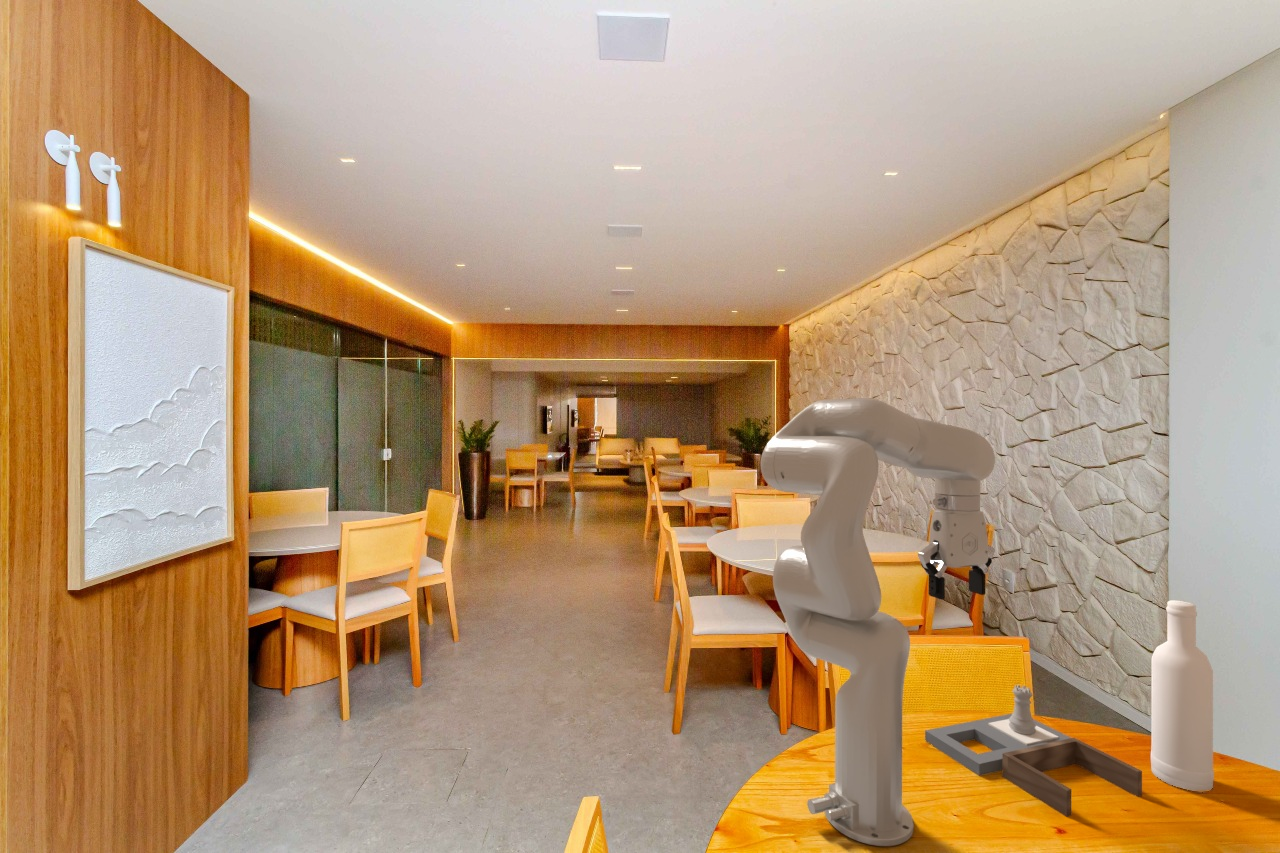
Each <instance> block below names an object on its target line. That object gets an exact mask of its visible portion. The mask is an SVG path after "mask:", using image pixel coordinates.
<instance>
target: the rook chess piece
mask: <svg viewBox="0 0 1280 853" xmlns="http://www.w3.org/2000/svg"><path fill="white" fill-rule="evenodd" d="M1012 693H1013V694H1014V698H1013V701H1014V707H1013V712H1012V713H1011V714H1012V716H1011V717H1010V718H1009V721H1010V723H1009V726H1010V728H1011V729H1012V730H1013V731H1015V732H1017V733H1020V734H1024V735H1033V734H1034V733H1035V732H1036V729H1035V727H1036V724H1035V722H1034V721H1033V719H1034V718H1033V717H1032V712H1031V704H1032V702H1031V698H1032V697H1033V693H1032V692H1031V688H1030V687H1029V686H1028V687H1026V685H1022V687H1021V684H1017V685H1014V688H1013V689H1012Z"/></svg>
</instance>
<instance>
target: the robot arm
mask: <svg viewBox="0 0 1280 853" xmlns="http://www.w3.org/2000/svg"><path fill="white" fill-rule="evenodd" d="M995 455H996V454H995V451H994V448H993V447H992V445H991V444H990V442H989V441H988V440H987V439H986V438H985V437H984V436H982V435H981V434H980V433H977V432H975V431H973V430H970V429H967V428H963V427H961V426H960V427H958V426H956V425H949V424H945V423H941V422H937V421H933V420H928V419H922V418H917V417H914V416H912V415H909V414H908V413H905V411H902V410H900V409H898V408H896V407H894V406H892V405H890V404H889V403H887V402H884V401H882V400H879V399H876V398H871V397H856V398H854V397H853V398H852V397H851V398H832V399H831V398H829V399H825V398H824V399H820V400H817V401H814V402H813V403H811V404H810V405H808V406H806V407H805V408H804V409H802V410H801V411H800V412H799V413H797V414H796V415H795V416H793V418H792V419H791V420H790V421H788V423H786V424H785V425H784V426H783V427H782V428H781V429H779V430H778V431H777V432H776V433H775V434H774V435H773V436H772V437H771V438H770V439H769V440H768V442H767V443H766V445H765V447H764V449H763V451H762V454H761V458H760V472H761V474H762V477H763V479H764V480H765V482H766V484H768V486H770V487H771V488H773V489H774V490H777V491H779V492H783V493H794V494H802V495H803V494H804V495H815V496H820V497H819V500H818V501H817V503H816V505H815V507H814V508H813V509H812V511H811V512H810V513H809V515H808V516H807V517H806V520H805V521H804V523H803V525H802V527H801V531H800V542H801V545H794V546H790V547H788V548H786V549H783V551H782V552H781V553H780V554H779V555H778V557H777V558H776V561H775V564H774V566H773V567H774V568H773V572H772V586H773V590H774V596H775V599H776V601H777V603H778V606H779V608H780V610H781V612H782V615H783V617H784V620H785V622H786V624H787V627H788V630H789V631H790V633H791V636H792V638H793V640H794V642H795V643H796V646H797V647H798V648H799V649H800V650H801V651H802V652H803V653H804V654H806V655H808V656H810V657H812V658H816V659H818V660H821V661H824V662H827V663H830V664H833V665H836V666H839V667H841V668H844V669H845V670H848V671H849V673H850V676H849V678H848V679H847V680H846V681H845V682H843V684H842V685H841V686H840V687H839V688H838V690H837V693H836V695H835V703H834V705H835V708H834V709H835V710H834V711H835V714H834V716H835V717H834V718H835V720H834V721H835V723H834V727H835V728H834V738H835V739H834V742H835V744H834V751H835V752H834V756H835V757H834V782H833V783H829V784H828V792H826V793H825V794H823V796H821V797H814V798H811V799H807V801H806V802H807V803H806V804H807V809H808V812H809V813H810V814H811V815H816V814H817V815H818V814H820V813H825V817H826V819H827V821H828V822H829V823H830V824H831V825H832V826H833V827H834V828H835V829H836V830H837V831H838V832H840V834H843V835H844V836H846V837H848V838H849V839H852V840H854V841H857V842H859V843H862V844H865V845H869V846H876V847H893V846H898V845H901V844H903V843H906V842H907V841H908V840H909V839H911V838H912V836H913V833H914V819H913V816H912V814H911V813H910V811H909V810H908V809H907V807H906V806H904V805H903V697H904V686H905V685H904V684H905V676H906V673H907V672H906V671H907V667H908V662H909V657H910V651H911V650H910V649H911V639H910V634H909V632H908V629H907V628H906V627H905V625H904V624H903V623H902V622H901V621H900V620H898V619H897V618H896V617H894V616H892V615H891V614H888V613H886V612H884V611H879V610H880V607H881V605H882V591H881V587H880V581H879V579H878V575H877V572H876V570H875V567H874V564H873V561H872V557H871V554H870V550H869V549H868V547H867V543H866V540H865V536H864V531H863V530H864V527H863V526H864V520H865V517H866V516H865V515H866V514H867V510H868V507H869V504H870V502H871V499H872V495H873V492H874V489H875V486H876V484H877V479H878V475H879V461H880V462H883V463H886V464H888V465H890V466H893V467H897V468H906V470H907V472H909V473H910V474H912V475H913V476H914V477H915V476H916V477H918V478H923V479H934V499H932V504H933V506H934V510H933V511H932V515H931V520H930V521H931V522H930V527H929V537H928V538H929V539H928V541H929V542H928V545H927V546H925V547H924V548H923V549H921V550H920V551H918V553H917V557H918V559H919V562H920V565H921V568H922V569H924V571H925V574H926V575H928V596H930V597H932V598H935V599H938V600H945V597H946V595H945V592H946V581H945V580H946V579H945V577H943V575H944V574H945V571H946V570H947V568H948V567H949V568H966V567H970V568H971V569H969V570H968V591H969V592H971V593H974V594H977V595H981V596H985V595H986V574H988V572H989V567H990V565H991V564H992V562H993V557H994V554H995V551H996V548H995V547H993V546H992V545H989V539H988V530H987V523H986V518H985V514H984V512H983V511H982V510H981V481H984V480H985V479H987V478H988V477H989V476H990V475H991V473H993V470H994V467H995V465H996V464H995V463H996V456H995ZM937 566H938V567H937Z"/></svg>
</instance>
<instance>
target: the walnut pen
mask: <svg viewBox="0 0 1280 853" xmlns="http://www.w3.org/2000/svg"><path fill="white" fill-rule="evenodd" d="M1072 765H1077V766H1079V767H1080V768H1082V769H1084V770H1086V771H1088V772H1091V773H1092V774H1094V775H1096V776H1098V777H1099V778H1102V779H1104V780H1106V781H1107V782H1108V783H1111V784H1113V785H1115V786H1117V787H1118V788H1120V789H1121V790H1124V791H1126V792H1127V793H1130V794H1132V795H1133V796H1135V795H1136V796H1135V797H1137V796H1138V798H1139V797H1141V795H1142V796H1143V770H1141V769H1139V768H1137V767H1135V766H1133V765H1131V764H1128V763H1127V762H1125V761H1122V760H1121V759H1118V758H1117V757H1114V756H1113V755H1110V754H1109V753H1106V752H1104V751H1102V750H1100V749H1098V748H1096V747H1094V746H1092V745H1091V744H1088V743H1085V742H1084V741H1081V740H1079V739H1077V738H1075V737H1071V738H1070V739H1065V740H1061V741H1056V742H1052V743H1047V744H1043V745H1038V746H1034V747H1029V748H1025V749H1020V750H1016V751H1011V752H1007V753H1003V754H1002V770H1001V771H1002V778H1003V779H1005V780H1006V781H1009V782H1010V783H1012V784H1013V785H1015V786H1016V787H1019V789H1022V790H1023V791H1025V792H1026V793H1028V794H1029V795H1031V796H1033V798H1036V799H1038V800H1039V801H1041V802H1042V803H1044V804H1045V805H1047V806H1048V807H1050V808H1053V810H1056V811H1057V812H1059V813H1060V814H1061V815H1063V816H1064V817H1071V816H1072V788H1070V787H1069V786H1067V785H1065V784H1063V783H1061V782H1060V781H1057V779H1054V778H1053V777H1051V776H1049V775H1047V774H1046V773H1044V772H1046V771H1051V770H1055V769H1060V768H1064V767H1068V766H1072Z"/></svg>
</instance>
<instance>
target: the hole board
mask: <svg viewBox="0 0 1280 853" xmlns="http://www.w3.org/2000/svg"><path fill="white" fill-rule="evenodd" d="M1011 716H1012V713H1008V714H1003V715H997V716H992V717H987V718H983V719H982V718H981V719H977V720H972V721H966V722H961V723H958V724H957V723H956V724H951V725H945V726H941V727H937V728H931V729H925V730H924V741H925V740H926V741H927V742H926V741H925V742H926V743H928V742H929V743H930V744H929V743H928V744H929V745H931V744H932V745H933V746H932V745H931V746H932V747H934V748H935V747H936V748H935V749H937V750H938V751H940V752H941V753H943V754H945V755H947V756H948V757H949V758H951V759H952V760H954V761H955V762H957V763H958V764H960V765H962V766H964V767H965V768H966V769H968V770H969V771H971V772H973V773H974V774H976V775H977V776H983V775H988V774H992V773H997V772H1000V771H1002V754H1003V753H1007V752H1011V751H1016V750H1020V749H1025V748H1029V747H1034V746H1038V745H1043V744H1047V743H1052V742H1056V741H1061V740H1065V739H1070V738H1072V737H1071V736H1069V735H1067V734H1064V733H1063V732H1060V731H1058V730H1056V729H1054V728H1052V727H1050V726H1048V725H1046V724H1044V723H1042V722H1040V721H1038V720H1036V719H1034V718H1033V721H1034V722H1035V724H1036V727H1035V729H1036V732H1035V733H1034V734H1033V735H1024V734H1020V733H1017V732H1015V731H1013V730H1012V729H1011V728H1010V726H1009V723H1010V721H1009V718H1010V717H1011ZM973 740H974V741H977V742H978V743H980V744H982V745H983V746H985V747H986V748H988V749H991V750H989V751H986V752H981V753H977V752H976V751H974V750H972V749H970V748H969V747H968V746H965V745H963V744H962V743H964V742H965V743H966V742H968V741H973Z"/></svg>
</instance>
